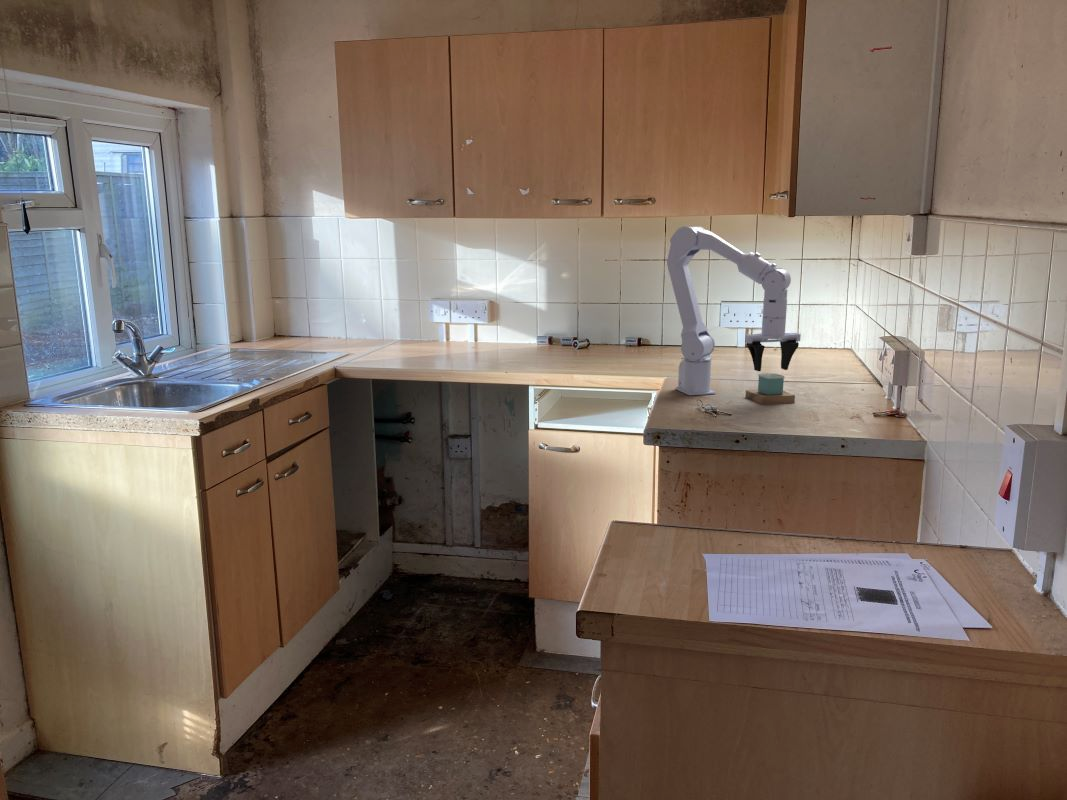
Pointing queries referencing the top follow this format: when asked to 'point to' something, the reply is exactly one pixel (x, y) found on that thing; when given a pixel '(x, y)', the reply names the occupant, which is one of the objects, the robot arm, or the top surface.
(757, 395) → the walnut block
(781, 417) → the top surface
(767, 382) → the teal tin
